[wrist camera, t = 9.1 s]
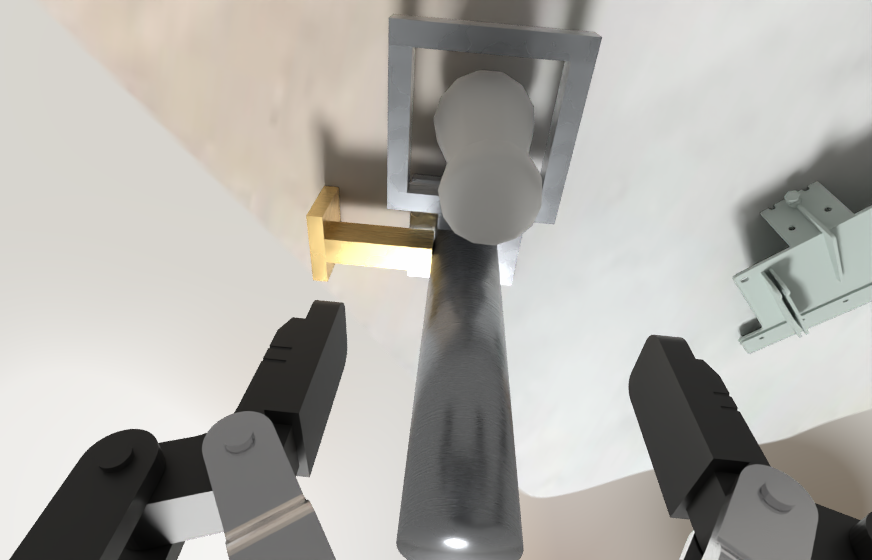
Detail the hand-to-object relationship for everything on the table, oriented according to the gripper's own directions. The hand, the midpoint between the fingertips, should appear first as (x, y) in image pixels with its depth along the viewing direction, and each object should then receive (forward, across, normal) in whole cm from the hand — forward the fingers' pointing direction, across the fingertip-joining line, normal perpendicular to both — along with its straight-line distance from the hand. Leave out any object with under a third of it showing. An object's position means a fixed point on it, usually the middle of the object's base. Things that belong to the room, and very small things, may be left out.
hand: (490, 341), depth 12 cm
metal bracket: (+22, -26, +8) cm, 34 cm away
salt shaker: (+21, 0, 0) cm, 21 cm away
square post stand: (+20, +3, +3) cm, 21 cm away
